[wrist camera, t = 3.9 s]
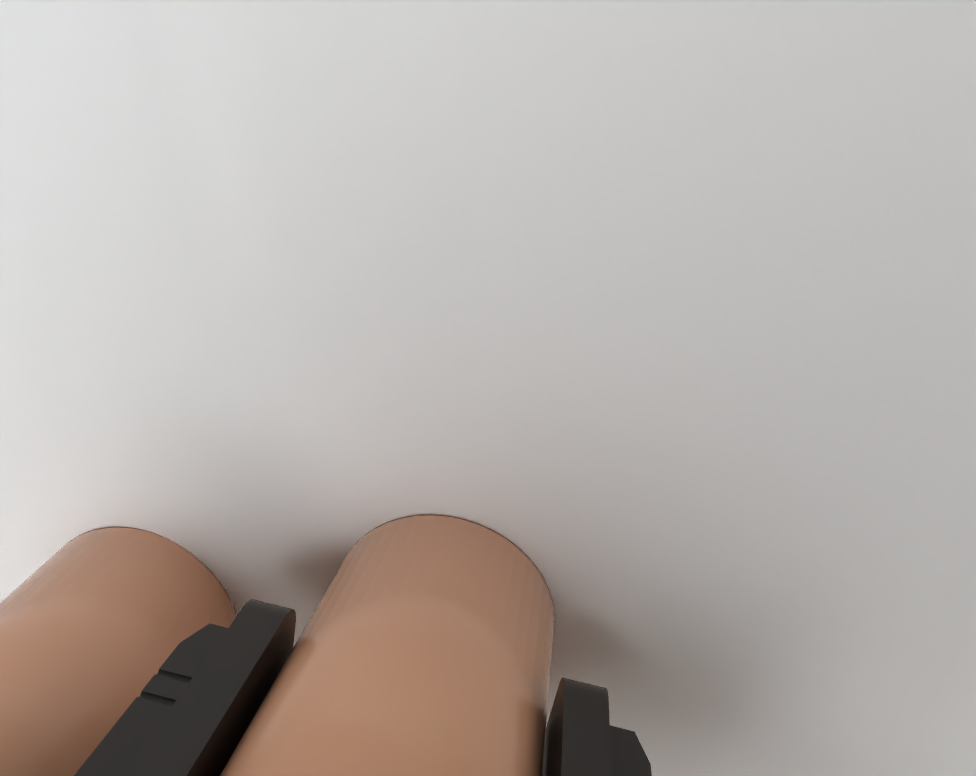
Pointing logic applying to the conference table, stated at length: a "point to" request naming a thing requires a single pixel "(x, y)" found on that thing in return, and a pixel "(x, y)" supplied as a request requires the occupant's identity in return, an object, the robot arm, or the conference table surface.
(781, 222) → the conference table surface
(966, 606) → the conference table surface
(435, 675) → the clay cylinder
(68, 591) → the clay cylinder
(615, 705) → the conference table surface
